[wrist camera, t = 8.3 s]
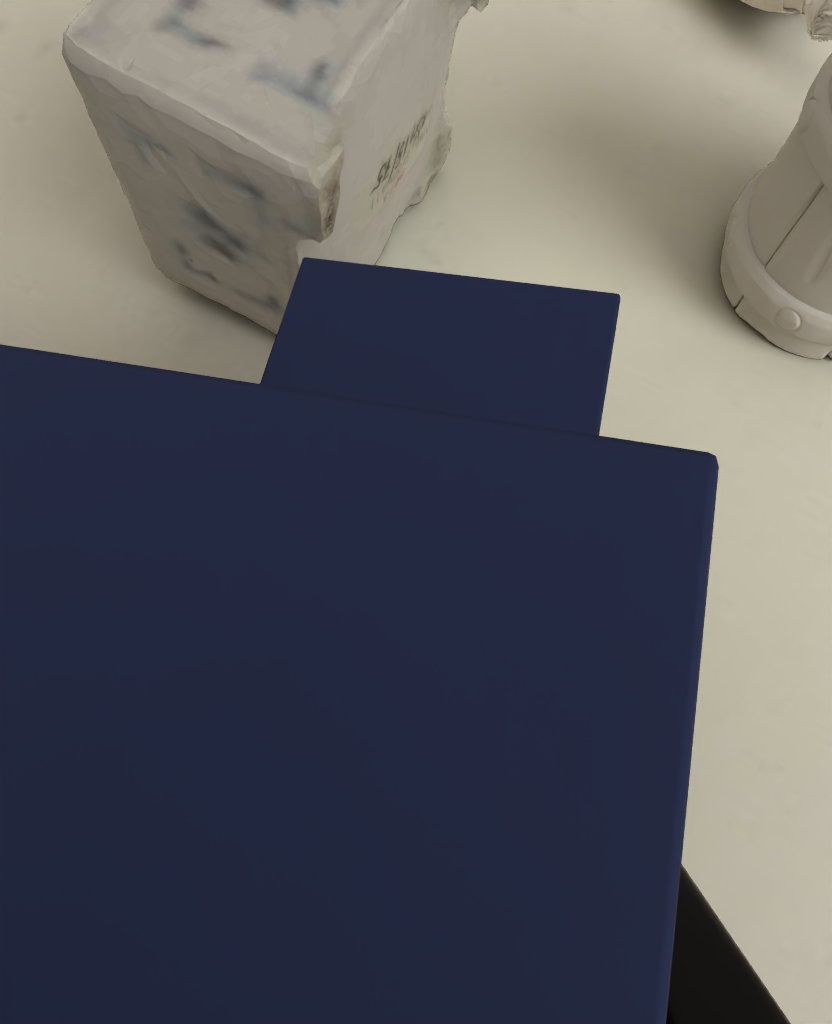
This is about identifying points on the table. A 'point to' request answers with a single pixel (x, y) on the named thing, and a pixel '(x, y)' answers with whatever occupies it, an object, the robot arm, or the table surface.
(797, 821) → the table surface
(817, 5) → the figurine
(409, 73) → the incense holder
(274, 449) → the navy blue box
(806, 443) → the table surface
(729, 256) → the mug
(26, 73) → the table surface
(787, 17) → the table surface
